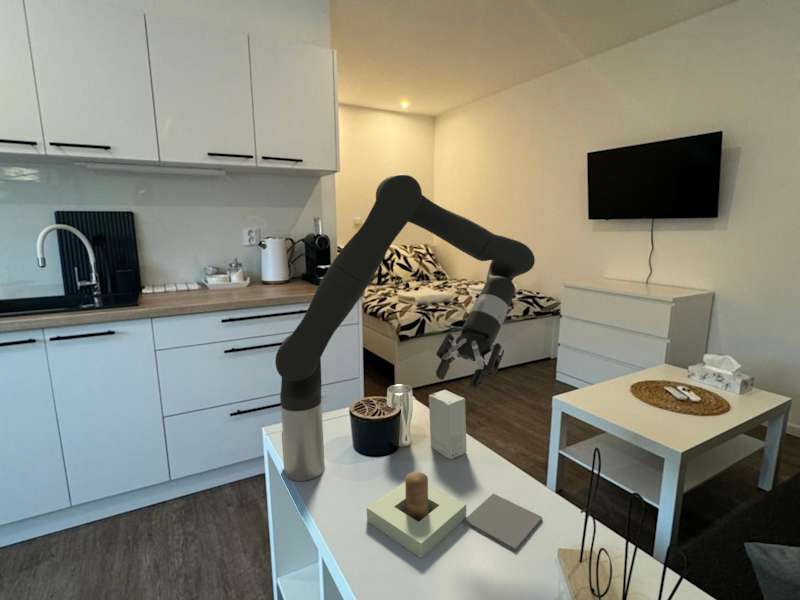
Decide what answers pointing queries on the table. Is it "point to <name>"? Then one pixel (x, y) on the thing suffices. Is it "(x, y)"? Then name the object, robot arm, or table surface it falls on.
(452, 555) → the table surface
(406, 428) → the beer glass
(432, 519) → the collar block
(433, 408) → the skincare box
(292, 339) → the robot arm
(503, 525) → the rubber mat
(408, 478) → the walnut pin
